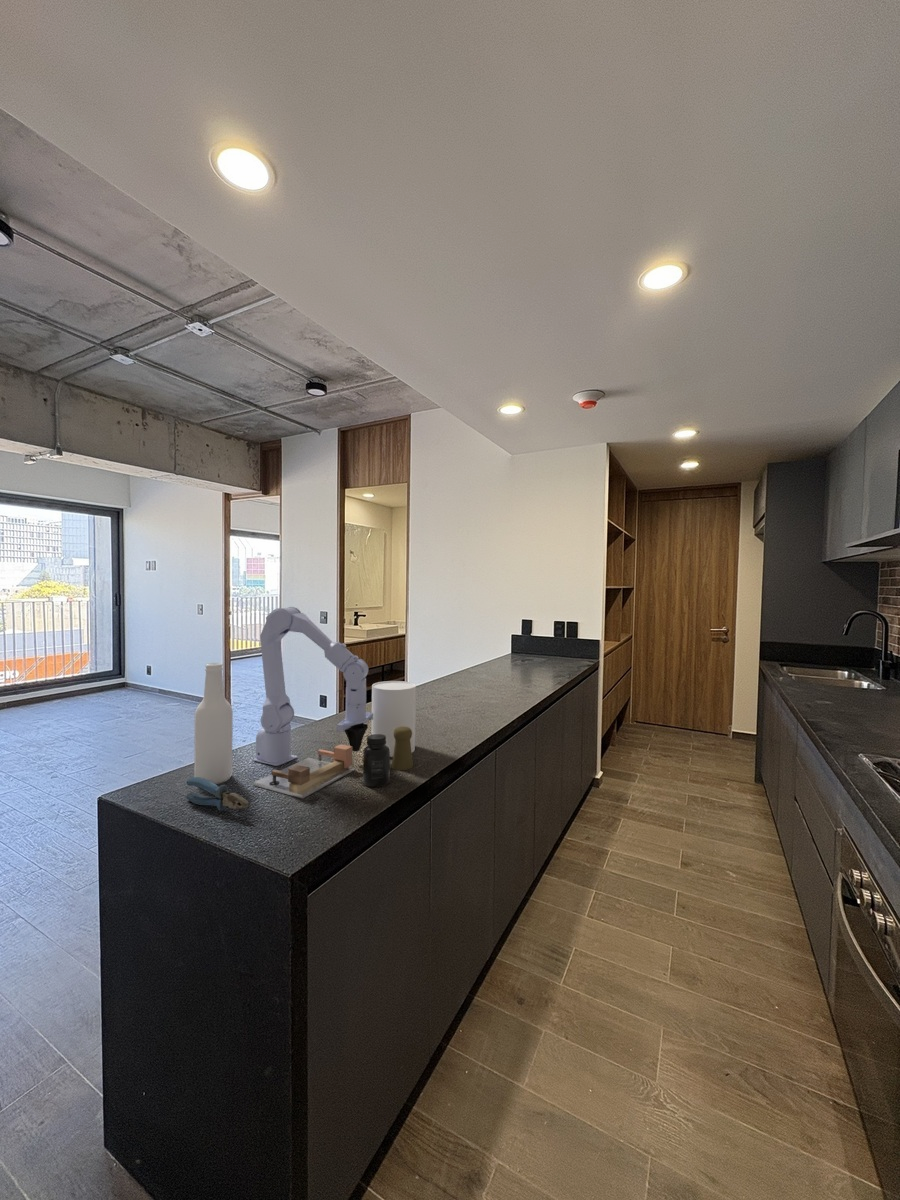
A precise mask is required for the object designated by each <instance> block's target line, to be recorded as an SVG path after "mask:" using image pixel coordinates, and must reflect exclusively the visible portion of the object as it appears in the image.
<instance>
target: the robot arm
mask: <svg viewBox="0 0 900 1200" xmlns="http://www.w3.org/2000/svg"><path fill="white" fill-rule="evenodd" d="M289 632H293V633H299V634H301V633H302V634H303V635H305V636H306V637H307V638H308V639H310V640H311V641H312V642H313V643H314V644H316V646H318V647H319V648H320V649H322V651H324V658H326V660H328V661H329V662H330V663H331V664H332V665H333V666H335V668H337V669H338V670H339V671H340V672H341V673H343V674H342V675H343V678H344V680H345V683H346V684H345V686H346V687H345V718H344V719H343V720H341V721H340V722H339V723H337V724H336V732H341V733H345V735H346V737H347V739H348V743H349V746H352V752H359V751H360V748H361V747H362V742H363V739H364V737H365V733H366V732H367V730H368V728H369V725H368V724H367V723H370V721H372V720H373V713H372V712H369V711H367V675H368V674H369V665H368V664H367V663H366V661H365V660H364V659H362V658H359V656H358V655H356V654H355V655H354V654H353V653H352V652H351V651H350V650H349V649H347V648H346V647H347V645H346V644H345V643H344V642H342V643H341V642H340V641H332V640H331V639H330V638H329V636H327V635H326V634H325V633H324V632H323V631H322V630H321V629H320V628H319V627H318V626H317V625H316V624H315V623H314V622H313V621H312V620H311V619H310V618H309V617H308V616H307V614H305V613H304V612H302V611H301V610H300V609H299V608H298V607H295V606H288V607H278V608H274V609H273V610H272V611H271V612H270V613H269V614H268V615H266V617H265V623H264V625H263V628H262V630H261V632H260V635H259V636H260V637H259V639H260V642H259V643H260V650H261V658H262V668H263V669H262V670H263V678H264V679H263V680H264V688H265V689H264V690H265V696H266V697H265V700H264V703H263V706H262V714H261V717H260V725H261V727H262V728H260V729H259V730H258V732H257V733H256V737H255V757H254V758H253V761H254V762H258V763H262V764H266V765H270V766H271V765H272V766H275V767H279V766H281V765H283V764H286V763H288V762H290V761H292V760H296V759H298V755H294V754H292V753H291V751H292V749H291V747H292V727H291V722H292V720H293V719H294V717H295V710H294V708H293V706H292V705H291V701H290V697H289V696H288V694H287V693H286V692H287V691H286V684H285V682H286V681H285V674H284V672H285V671H284V666H283V665H284V663H283V654H282V653H283V652H282V646H281V645H282V644H281V641H282V639H283V638H284V637H285V636H286V635H287V634H288V633H289Z"/></svg>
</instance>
